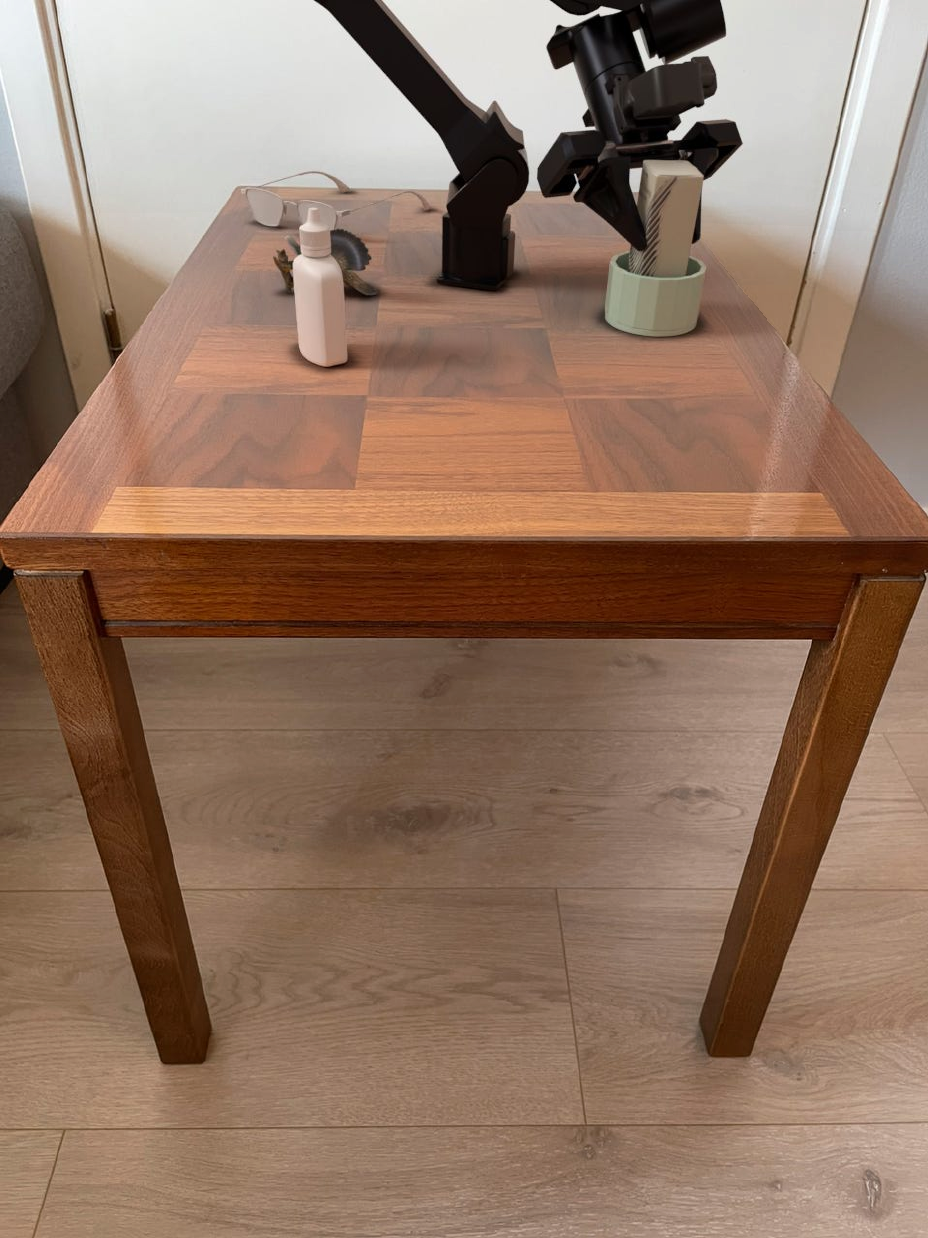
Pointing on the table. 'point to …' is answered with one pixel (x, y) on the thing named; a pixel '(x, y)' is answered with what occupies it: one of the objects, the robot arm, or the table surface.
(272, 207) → the eyeglasses
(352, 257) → the brown grey figurine
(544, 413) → the table surface
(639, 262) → the box
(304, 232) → the eye dropper bottle
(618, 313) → the bowl
